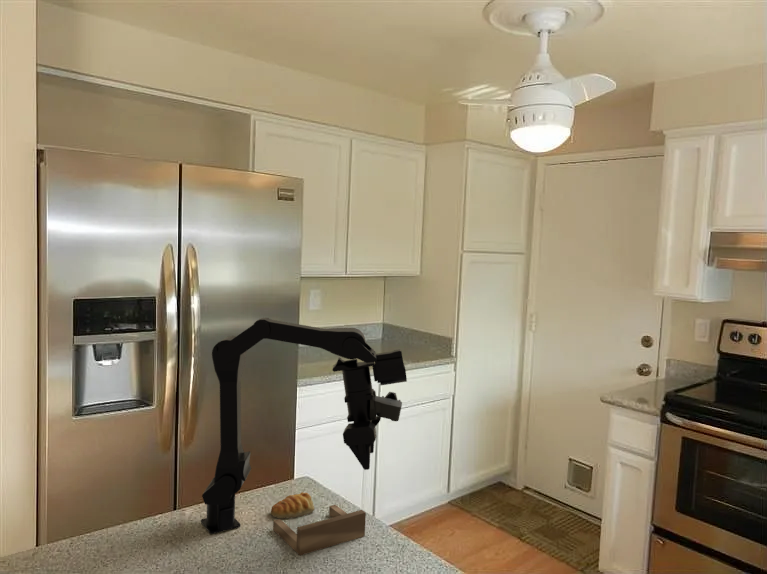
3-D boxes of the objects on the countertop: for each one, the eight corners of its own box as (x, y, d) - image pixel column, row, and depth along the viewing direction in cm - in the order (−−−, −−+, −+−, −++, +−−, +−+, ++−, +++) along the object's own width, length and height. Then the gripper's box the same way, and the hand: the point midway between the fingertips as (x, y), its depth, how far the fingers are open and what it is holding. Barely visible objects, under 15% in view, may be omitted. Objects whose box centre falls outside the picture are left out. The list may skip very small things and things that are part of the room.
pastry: (279, 524, 125) (280, 507, 125) (264, 513, 130) (265, 496, 130) (316, 513, 131) (317, 496, 131) (300, 503, 136) (301, 486, 136)
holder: (273, 529, 122) (273, 506, 122) (334, 513, 131) (335, 491, 130) (299, 555, 112) (300, 530, 112) (364, 536, 121) (365, 512, 121)
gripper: (394, 395, 112) (405, 474, 113) (398, 373, 131) (408, 441, 132) (337, 402, 113) (349, 480, 114) (349, 379, 132) (359, 446, 133)
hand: (369, 460), depth 123 cm, fingers open, 9 cm apart
